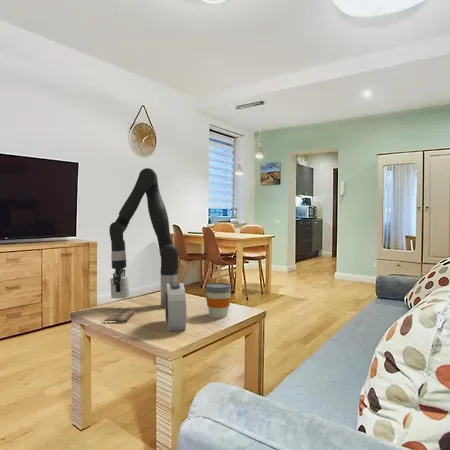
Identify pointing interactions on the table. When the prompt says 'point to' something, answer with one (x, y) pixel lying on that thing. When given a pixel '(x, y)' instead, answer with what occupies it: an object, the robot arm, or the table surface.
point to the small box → (123, 287)
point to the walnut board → (121, 314)
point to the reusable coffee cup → (218, 299)
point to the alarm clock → (175, 306)
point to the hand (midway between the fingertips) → (120, 290)
